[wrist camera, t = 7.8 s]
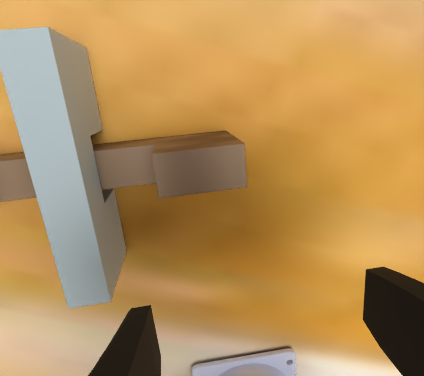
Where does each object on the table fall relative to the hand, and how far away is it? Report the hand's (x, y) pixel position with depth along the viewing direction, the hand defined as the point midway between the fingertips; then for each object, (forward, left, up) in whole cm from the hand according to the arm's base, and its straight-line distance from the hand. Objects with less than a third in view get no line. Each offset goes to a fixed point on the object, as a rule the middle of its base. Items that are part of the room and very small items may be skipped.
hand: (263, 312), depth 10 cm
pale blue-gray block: (+4, +7, -10) cm, 13 cm away
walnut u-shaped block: (+4, +7, -10) cm, 13 cm away
